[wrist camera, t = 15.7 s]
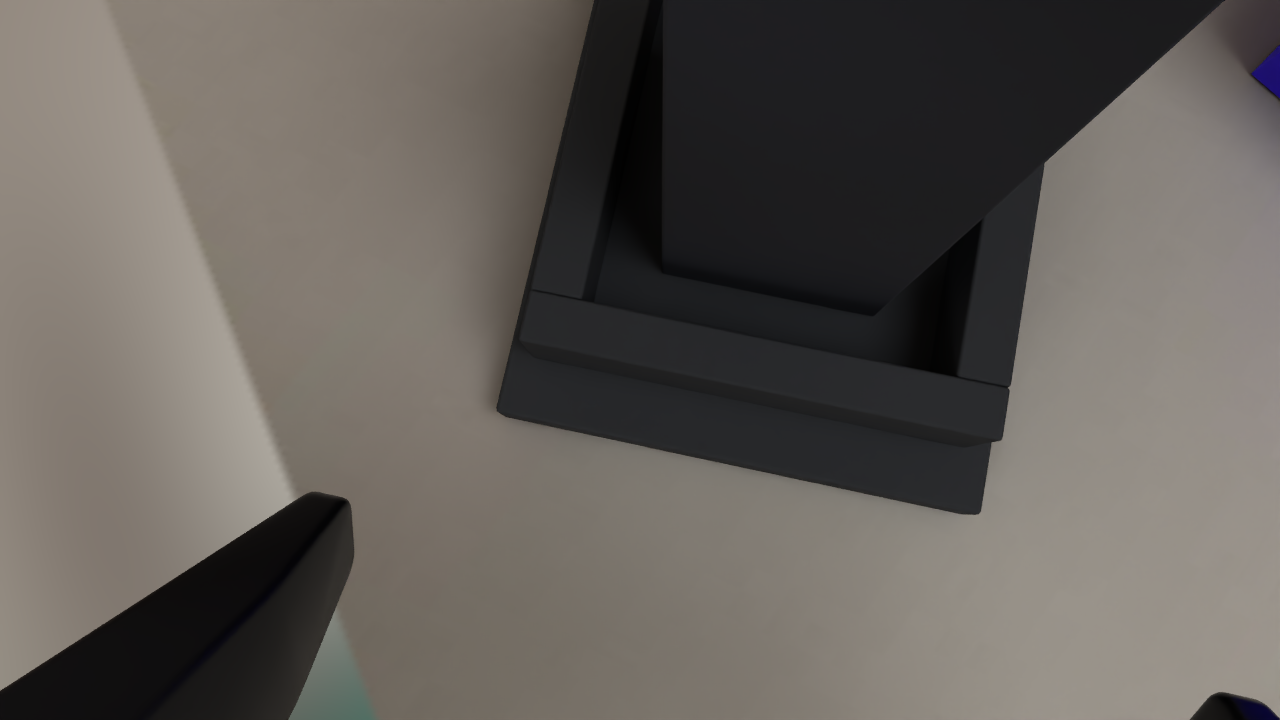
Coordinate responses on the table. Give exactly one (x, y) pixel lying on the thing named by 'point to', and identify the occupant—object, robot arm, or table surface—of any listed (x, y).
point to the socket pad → (751, 320)
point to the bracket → (1270, 72)
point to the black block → (874, 127)
